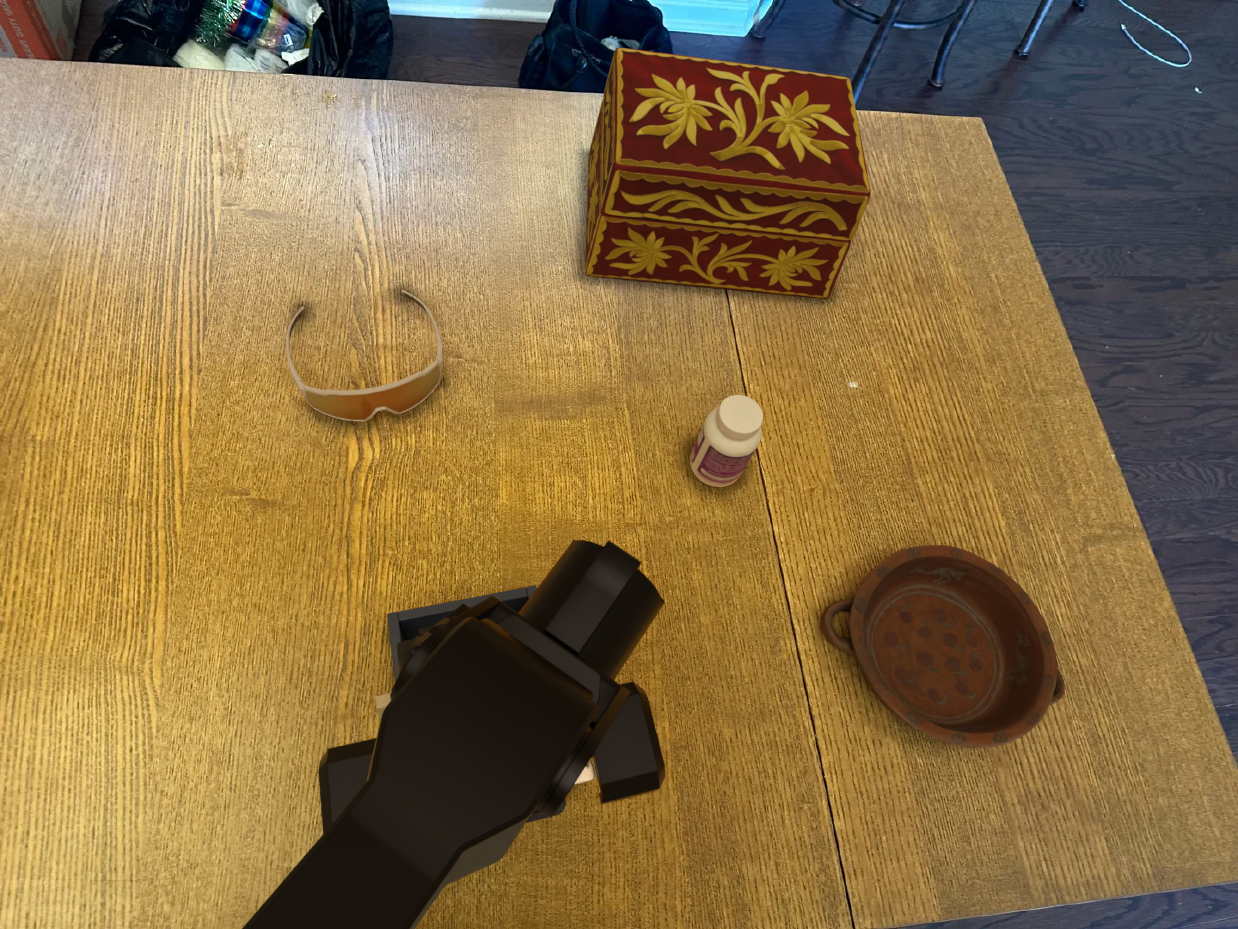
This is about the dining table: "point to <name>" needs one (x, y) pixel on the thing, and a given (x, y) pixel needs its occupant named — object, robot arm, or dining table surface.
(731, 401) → the pill bottle
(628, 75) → the decorative box
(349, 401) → the sunglasses
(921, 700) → the dish
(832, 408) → the dining table surface
